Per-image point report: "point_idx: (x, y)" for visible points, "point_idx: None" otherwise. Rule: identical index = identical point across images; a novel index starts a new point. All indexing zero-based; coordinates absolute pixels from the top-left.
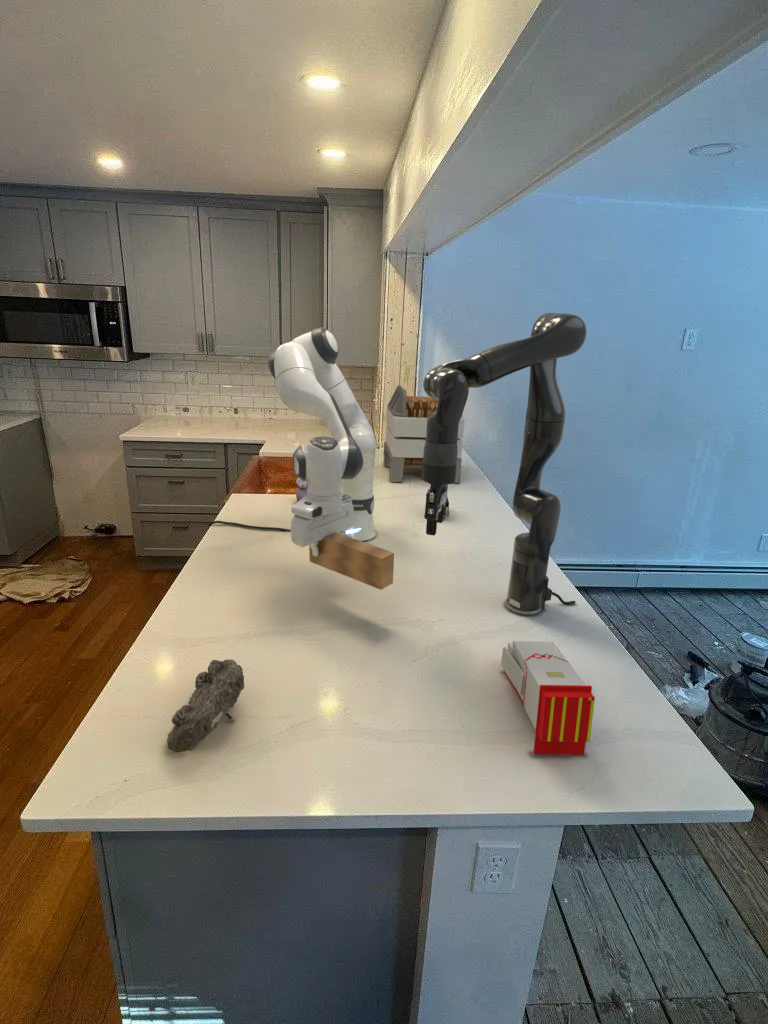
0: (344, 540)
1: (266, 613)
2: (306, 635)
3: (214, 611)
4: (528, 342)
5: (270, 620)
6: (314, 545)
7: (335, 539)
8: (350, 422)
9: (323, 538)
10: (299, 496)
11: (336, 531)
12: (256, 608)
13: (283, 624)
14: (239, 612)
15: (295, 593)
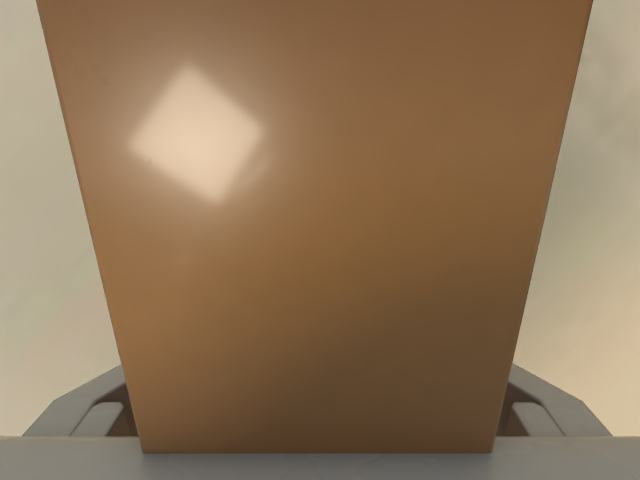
0: (319, 4)
1: (549, 285)
2: (614, 41)
3: (626, 406)
4: None
5: (584, 239)
6: (583, 406)
7: (422, 238)
8: None
9: (493, 438)
10: None
11: (117, 470)
12: (538, 333)
13: (585, 182)
14: (591, 352)
15: None
